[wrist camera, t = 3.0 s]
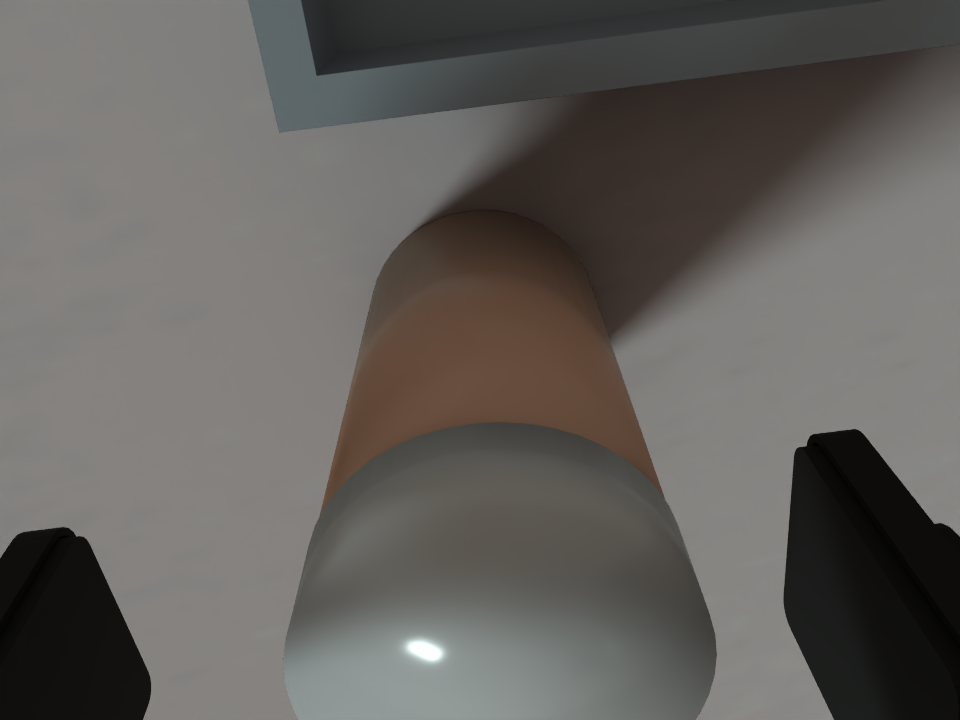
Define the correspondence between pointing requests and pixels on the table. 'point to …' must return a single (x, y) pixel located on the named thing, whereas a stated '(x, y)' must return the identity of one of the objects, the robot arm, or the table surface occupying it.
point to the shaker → (493, 507)
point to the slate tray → (553, 47)
